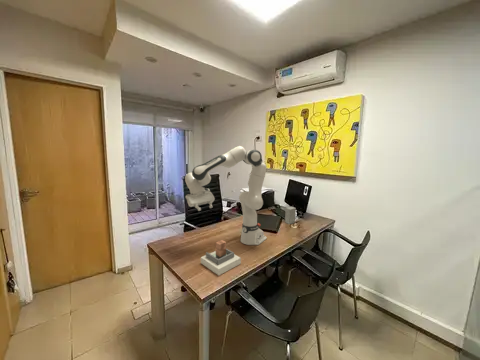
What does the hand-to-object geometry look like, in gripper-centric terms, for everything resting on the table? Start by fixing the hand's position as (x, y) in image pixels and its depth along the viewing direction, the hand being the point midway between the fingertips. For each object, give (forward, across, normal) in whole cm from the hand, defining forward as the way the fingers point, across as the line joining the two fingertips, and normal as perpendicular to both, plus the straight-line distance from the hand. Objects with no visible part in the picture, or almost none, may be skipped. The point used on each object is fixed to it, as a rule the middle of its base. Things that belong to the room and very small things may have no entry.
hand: (205, 209), depth 139 cm
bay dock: (+35, -2, +9) cm, 36 cm away
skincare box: (+29, +95, +16) cm, 101 cm away
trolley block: (+32, -2, +6) cm, 33 cm away
